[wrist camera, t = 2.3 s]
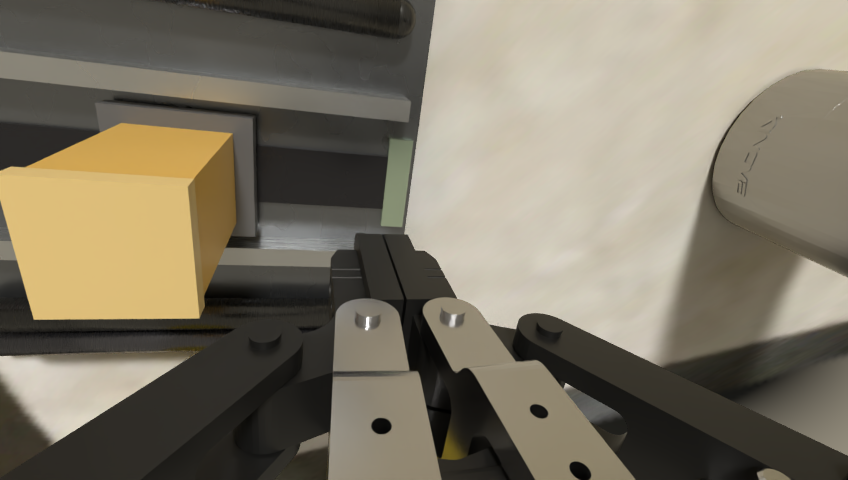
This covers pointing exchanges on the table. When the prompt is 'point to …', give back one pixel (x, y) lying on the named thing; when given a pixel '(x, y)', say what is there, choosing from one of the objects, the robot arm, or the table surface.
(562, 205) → the table surface
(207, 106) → the panel
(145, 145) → the lever
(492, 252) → the table surface
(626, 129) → the table surface
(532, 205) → the table surface
